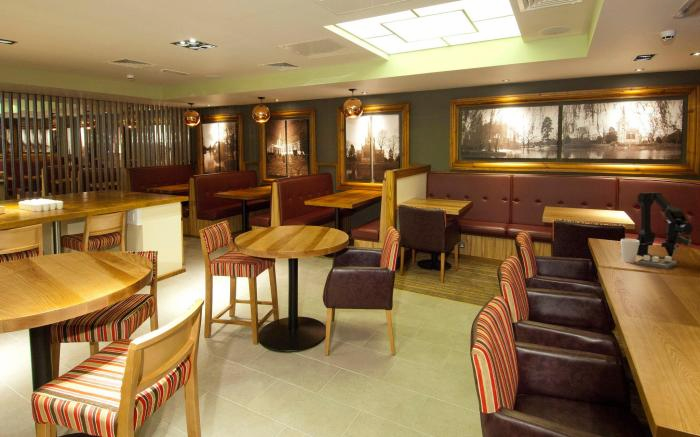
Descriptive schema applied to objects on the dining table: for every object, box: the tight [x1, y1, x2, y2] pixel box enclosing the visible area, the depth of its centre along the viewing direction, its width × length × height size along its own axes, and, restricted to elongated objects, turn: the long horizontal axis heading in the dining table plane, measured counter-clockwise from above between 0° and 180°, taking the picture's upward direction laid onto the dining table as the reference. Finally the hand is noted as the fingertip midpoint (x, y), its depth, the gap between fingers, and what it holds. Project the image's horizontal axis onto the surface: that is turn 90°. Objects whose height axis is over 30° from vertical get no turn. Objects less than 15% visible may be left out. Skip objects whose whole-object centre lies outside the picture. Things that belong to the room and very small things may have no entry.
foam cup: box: [620, 238, 640, 264], centre depth 258 cm, size 10×9×13 cm
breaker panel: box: [637, 256, 678, 270], centre depth 251 cm, size 16×15×2 cm
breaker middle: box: [652, 255, 660, 262], centre depth 249 cm, size 2×3×3 cm
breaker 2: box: [664, 255, 673, 262], centre depth 249 cm, size 2×3×3 cm
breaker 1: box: [642, 255, 651, 261], centre depth 252 cm, size 2×3×3 cm
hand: (670, 257), depth 253 cm, fingers closed
